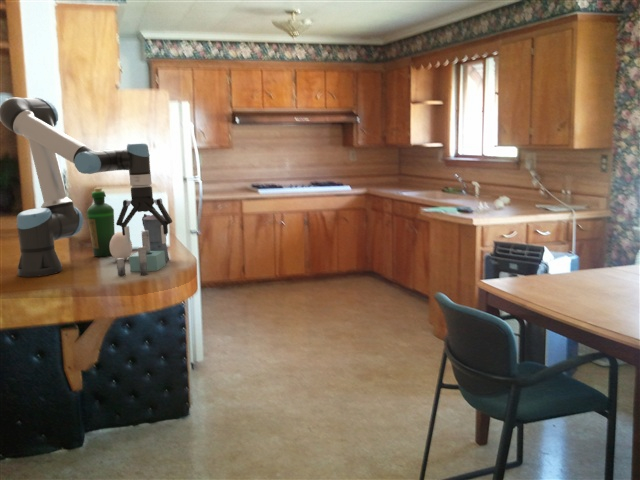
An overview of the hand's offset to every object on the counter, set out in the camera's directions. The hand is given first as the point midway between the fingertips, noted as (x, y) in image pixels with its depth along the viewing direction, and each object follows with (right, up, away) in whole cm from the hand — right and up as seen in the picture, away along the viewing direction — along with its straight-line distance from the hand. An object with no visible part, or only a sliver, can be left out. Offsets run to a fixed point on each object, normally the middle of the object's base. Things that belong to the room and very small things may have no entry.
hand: (146, 243), depth 238 cm
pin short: (-6, -11, -9) cm, 16 cm away
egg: (-15, -7, +18) cm, 25 cm away
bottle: (-26, -5, +31) cm, 41 cm away
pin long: (0, -9, +2) cm, 9 cm away
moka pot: (0, -7, +14) cm, 16 cm away
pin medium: (+2, -11, -9) cm, 14 cm away
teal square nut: (0, -9, +2) cm, 9 cm away
